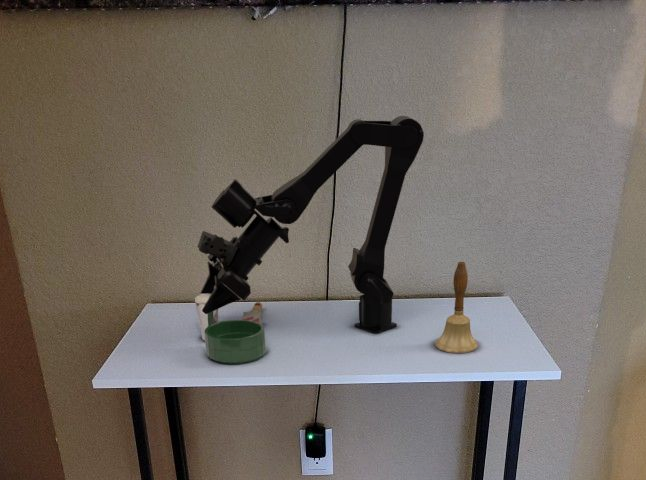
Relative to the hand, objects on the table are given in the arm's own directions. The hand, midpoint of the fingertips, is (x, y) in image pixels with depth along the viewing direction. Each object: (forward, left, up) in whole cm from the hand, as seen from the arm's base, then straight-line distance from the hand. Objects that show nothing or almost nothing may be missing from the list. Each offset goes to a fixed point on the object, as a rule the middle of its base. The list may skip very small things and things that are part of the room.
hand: (201, 306), depth 148 cm
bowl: (-12, +1, -7) cm, 13 cm away
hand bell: (-39, -32, -7) cm, 51 cm away
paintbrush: (0, -13, -7) cm, 14 cm away
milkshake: (-1, -1, -7) cm, 7 cm away
